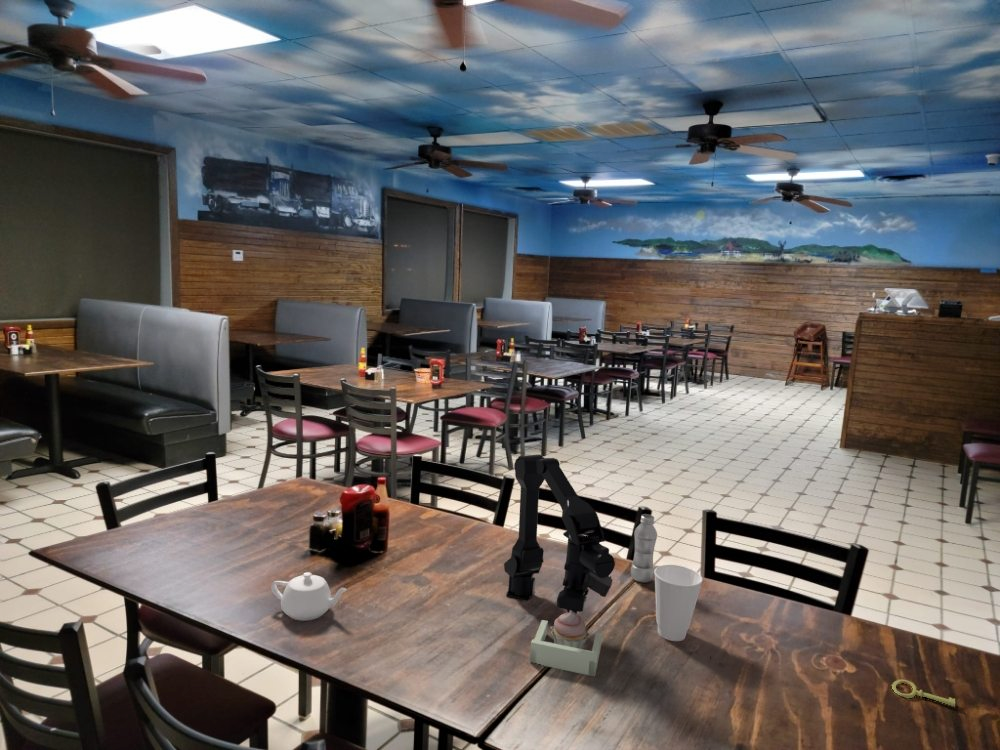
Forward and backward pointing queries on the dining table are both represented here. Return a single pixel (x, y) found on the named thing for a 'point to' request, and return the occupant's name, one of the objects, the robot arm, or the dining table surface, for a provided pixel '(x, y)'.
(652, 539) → the plastic bottle
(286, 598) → the teapot
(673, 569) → the cup
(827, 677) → the dining table surface
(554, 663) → the pocket
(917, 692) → the key
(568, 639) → the cupcake
